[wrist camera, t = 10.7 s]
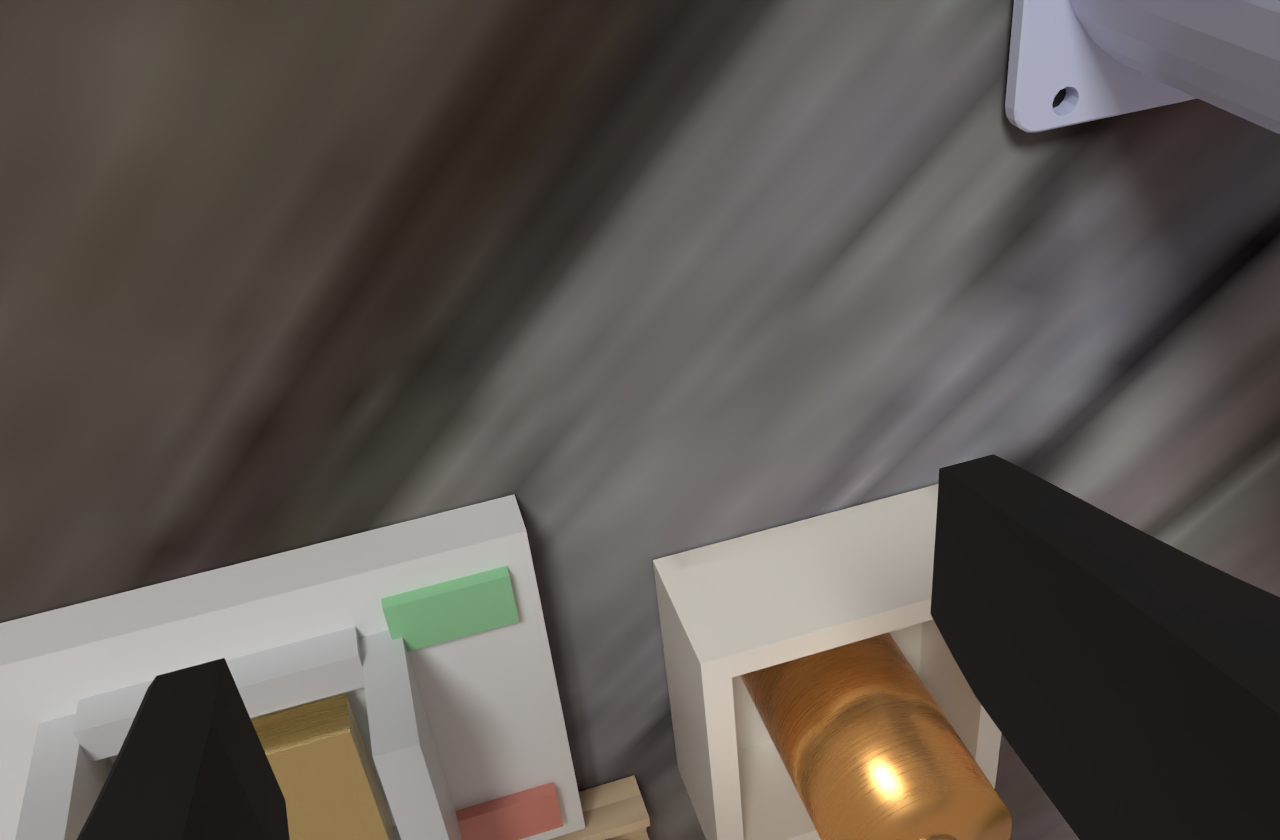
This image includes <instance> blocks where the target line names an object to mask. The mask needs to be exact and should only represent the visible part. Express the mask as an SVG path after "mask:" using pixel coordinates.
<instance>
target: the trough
mask: <svg viewBox="0 0 1280 840" xmlns="http://www.w3.org/2000/svg"><path fill="white" fill-rule="evenodd" d="M578 793H579V798H580V803H581V808H582V813H583V818H584V823H585V828H584V829H581V830H578V831H575V832H571V833H568V834H565V835H562V836H558V837H555V838H552V839H549V840H649V837H648V834H647V831H646V827H649V826H650V820H649V816H648V813H647V810H646V807H645V804H644V802H643V799H642V796H641V793H640V790H639V787H638V785H637V782H636V779H635V776H634V775H633V776H630V777H627V778H623V779H620V780H617V781H613V782H610V783H607V784H603V785H600V786H597V787H593V788H590V789H587V790H583V791H580V792H578Z"/></svg>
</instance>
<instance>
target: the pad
mask: <svg viewBox="0 0 1280 840" xmlns="http://www.w3.org/2000/svg"><path fill="white" fill-rule="evenodd" d="M251 721H252V723H253V726H254V728H255V730H256V733H257V735H258V737H259V740H260V742H261V744H262V747H263V749H264V751H265V754H266V756H267V758H268V761H269V763H270V765H271V768H272V770H273V772H274V775H275V777H276V779H277V782H278V784H279V787H280V789H281V791H282V794H283V796H284V798H285V802H286V811H287V820H288V829H289V838H290V840H394V835H393V827H392V822H391V819H390V816H389V813H388V810H387V807H386V804H385V802H384V799H383V796H382V793H381V790H380V787H379V785H378V782H377V779H376V776H375V773H374V770H373V767H372V765H371V762H370V759H369V756H368V753H367V750H366V747H365V745H364V742H363V739H362V736H361V733H360V730H359V728H358V725H357V722H356V719H355V716H354V713H353V710H352V708H351V705H350V702H349V699H348V696H347V693H345V694H341V695H337V696H334V697H330V698H326V699H323V700H319V701H316V702H312V703H308V704H305V705H301V706H297V707H294V708H290V709H286V710H283V711H279V712H276V713H272V714H268V715H265V716H261V717H257V718H254V719H251Z"/></svg>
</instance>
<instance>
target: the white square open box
mask: <svg viewBox="0 0 1280 840" xmlns="http://www.w3.org/2000/svg"><path fill="white" fill-rule="evenodd" d="M938 485H939V484H936V485H932V486H929V487H925V488H921V489H918V490H914V491H910V492H906V493H903V494H899V495H895V496H891V497H888V498H884V499H880V500H876V501H873V502H869V503H865V504H861V505H858V506H854V507H850V508H846V509H843V510H839V511H835V512H831V513H828V514H824V515H820V516H816V517H813V518H809V519H805V520H801V521H798V522H794V523H790V524H786V525H783V526H779V527H775V528H771V529H768V530H764V531H760V532H756V533H753V534H749V535H745V536H742V537H738V538H734V539H730V540H727V541H723V542H719V543H715V544H712V545H708V546H704V547H700V548H697V549H693V550H689V551H685V552H682V553H678V554H674V555H670V556H667V557H663V558H659V559H655V560H653V566H654V574H655V583H656V591H657V599H658V608H659V616H660V624H661V633H662V641H663V649H664V657H665V666H666V674H667V682H668V691H669V699H670V707H671V716H672V724H673V732H674V741H675V749H676V757H677V766H678V770H679V772H680V775H681V777H682V780H683V782H684V785H685V787H686V790H687V792H688V795H689V797H690V800H691V802H692V805H693V808H694V810H695V813H696V815H697V818H698V820H699V823H700V825H701V828H702V830H703V833H704V835H705V838H706V840H821V839H820V837H819V835H818V833H817V831H816V829H815V827H814V825H813V822H812V820H811V818H810V816H809V814H808V812H807V810H806V808H805V806H804V804H803V802H802V800H801V798H800V796H799V794H798V792H797V790H796V788H795V786H794V784H793V782H792V780H791V778H790V776H789V774H788V772H787V770H786V768H785V766H784V764H783V762H782V760H781V758H780V756H779V754H778V752H777V749H776V747H775V745H774V743H773V741H772V739H771V737H770V735H769V733H768V731H767V729H766V727H765V725H764V723H763V721H762V719H761V717H760V715H759V713H758V711H757V709H756V707H755V705H754V703H753V701H752V699H751V697H750V695H749V693H748V691H747V689H746V687H745V685H744V683H743V681H742V679H741V677H740V675H743V674H746V673H750V672H753V671H757V670H760V669H763V668H767V667H770V666H774V665H777V664H781V663H784V662H788V661H791V660H795V659H798V658H801V657H805V656H808V655H812V654H815V653H819V652H822V651H826V650H829V649H832V648H836V647H839V646H843V645H846V644H850V643H853V642H857V641H860V640H864V639H867V638H870V637H874V636H877V635H881V634H884V633H888V632H889V633H890V634H891V636H892V637H893V639H894V640H895V642H896V643H897V645H898V646H899V648H900V649H901V651H902V652H903V654H904V655H905V657H906V658H907V660H908V661H909V663H910V664H911V666H912V667H913V669H914V670H915V672H916V673H917V675H918V676H919V678H920V679H921V681H922V682H923V684H924V685H925V687H926V688H927V690H928V691H929V693H930V694H931V695H932V697H933V698H934V700H935V701H936V703H937V704H938V706H939V707H940V709H941V710H942V712H943V713H944V715H945V716H946V718H947V719H948V721H949V722H950V724H951V725H952V727H953V728H954V730H955V731H956V733H957V734H958V736H959V737H960V739H961V740H962V742H963V743H964V745H965V746H966V748H967V749H968V751H969V752H970V754H971V755H972V756H973V758H974V759H975V761H976V762H977V764H978V765H979V767H980V768H981V770H982V771H983V773H984V774H985V776H986V777H987V779H988V780H989V782H990V783H991V785H992V786H993V788H994V789H995V783H996V775H997V767H998V758H999V750H1000V742H1001V734H1002V733H1001V731H1000V730H999V729H998V727H997V726H996V725H995V723H994V722H993V720H992V719H991V718H990V716H989V715H988V713H987V712H986V711H985V709H984V708H983V706H982V705H981V704H980V702H979V701H978V699H977V698H976V696H975V695H974V693H973V691H972V689H971V688H970V686H969V684H968V682H967V681H966V679H965V677H964V675H963V674H962V672H961V670H960V668H959V667H958V665H957V663H956V661H955V660H954V658H953V656H952V654H951V652H950V650H949V648H948V646H947V644H946V643H945V641H944V639H943V637H942V635H941V633H940V631H939V629H938V627H937V626H936V624H935V622H934V620H933V618H932V616H931V614H930V611H931V596H932V580H933V564H934V548H935V533H936V517H937V501H938Z"/></svg>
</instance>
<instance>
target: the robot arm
mask: <svg viewBox="0 0 1280 840" xmlns="http://www.w3.org/2000/svg"><path fill="white" fill-rule="evenodd" d="M1065 87H1066V94H1065V97H1064V100H1063V101H1062V102H1061V103H1060V105H1059V106H1057V107H1055V108H1053V106H1052V103H1053V100H1054V97H1055V96H1056V94H1057V93H1058V92H1059V91H1060V90H1061V89H1063V88H1065ZM1193 99H1200V100H1202V101H1205V102H1207V103H1209V104H1211V105H1214V106H1216V107H1218V108H1221V109H1223V110H1225V111H1227V112H1230V113H1232V114H1234V115H1236V116H1239V117H1241V118H1243V119H1245V120H1248V121H1250V122H1252V123H1255V124H1257V125H1259V126H1261V127H1264V128H1266V129H1268V130H1270V131H1273V132H1275V133H1277V134H1280V0H1014V6H1013V18H1012V30H1011V42H1010V54H1009V65H1008V77H1007V89H1006V101H1005V110H1006V116H1007V118H1008V120H1009V121H1010V123H1011V124H1013V125H1014V126H1016V127H1018V128H1020V129H1021V130H1023V131H1025V132H1027V133H1037V132H1042V131H1046V130H1051V129H1056V128H1060V127H1065V126H1070V125H1075V124H1079V123H1084V122H1089V121H1094V120H1098V119H1103V118H1108V117H1113V116H1117V115H1122V114H1127V113H1131V112H1136V111H1141V110H1146V109H1150V108H1155V107H1160V106H1165V105H1169V104H1174V103H1179V102H1183V101H1188V100H1193ZM930 614H931V616H932V618H933V620H934V622H935V624H936V626H937V627H938V629H939V631H940V633H941V635H942V637H943V639H944V641H945V643H946V644H947V646H948V648H949V650H950V652H951V654H952V656H953V658H954V660H955V661H956V663H957V665H958V667H959V668H960V670H961V672H962V674H963V675H964V677H965V679H966V681H967V682H968V684H969V686H970V688H971V689H972V691H973V693H974V695H975V696H976V698H977V699H978V701H979V702H980V704H981V705H982V706H983V708H984V709H985V711H986V712H987V713H988V715H989V716H990V718H991V719H992V720H993V722H994V723H995V725H996V726H997V727H998V729H999V730H1000V731H1001V733H1002V734H1003V736H1004V737H1005V738H1006V740H1007V741H1008V742H1009V744H1010V745H1011V747H1012V748H1013V749H1014V751H1015V752H1016V754H1017V755H1018V756H1019V758H1020V759H1021V760H1022V762H1023V763H1024V764H1025V766H1026V767H1027V769H1028V770H1029V771H1030V773H1031V774H1032V775H1033V777H1034V778H1035V779H1036V781H1037V782H1038V783H1039V785H1040V786H1041V788H1042V789H1043V790H1044V792H1045V793H1046V794H1047V796H1048V797H1049V798H1050V800H1051V801H1052V802H1053V804H1054V805H1055V806H1056V808H1057V809H1058V811H1059V812H1060V813H1061V815H1062V816H1063V817H1064V819H1065V820H1066V821H1067V823H1068V824H1069V825H1070V827H1071V828H1072V830H1073V831H1074V832H1075V834H1076V835H1077V836H1078V838H1079V839H1080V840H1280V597H1277V596H1275V595H1273V594H1271V593H1269V592H1266V591H1264V590H1262V589H1260V588H1257V587H1255V586H1253V585H1251V584H1248V583H1246V582H1244V581H1242V580H1240V579H1237V578H1235V577H1233V576H1231V575H1229V574H1227V573H1225V572H1223V571H1221V570H1219V569H1216V568H1214V567H1212V566H1210V565H1208V564H1206V563H1204V562H1202V561H1200V560H1198V559H1196V558H1194V557H1192V556H1190V555H1188V554H1186V553H1184V552H1182V551H1180V550H1178V549H1176V548H1174V547H1172V546H1170V545H1168V544H1166V543H1164V542H1162V541H1160V540H1158V539H1156V538H1154V537H1152V536H1150V535H1148V534H1146V533H1144V532H1142V531H1140V530H1138V529H1136V528H1135V527H1133V526H1131V525H1129V524H1127V523H1125V522H1123V521H1121V520H1119V519H1117V518H1115V517H1113V516H1112V515H1110V514H1108V513H1106V512H1104V511H1102V510H1100V509H1098V508H1096V507H1094V506H1093V505H1091V504H1089V503H1087V502H1085V501H1083V500H1081V499H1079V498H1077V497H1076V496H1074V495H1072V494H1070V493H1068V492H1066V491H1064V490H1062V489H1060V488H1059V487H1057V486H1055V485H1053V484H1051V483H1049V482H1047V481H1045V480H1043V479H1042V478H1040V477H1038V476H1036V475H1034V474H1032V473H1030V472H1028V471H1026V470H1024V469H1022V468H1020V467H1018V466H1016V465H1014V464H1012V463H1010V462H1008V461H1006V460H1004V459H1002V458H1000V457H998V456H995V455H989V456H986V457H982V458H978V459H974V460H971V461H967V462H963V463H959V464H955V465H952V466H948V467H944V468H940V470H939V485H938V501H937V517H936V533H935V548H934V564H933V580H932V596H931V611H930ZM77 840H290V838H289V829H288V820H287V811H286V802H285V798H284V796H283V794H282V791H281V789H280V787H279V784H278V782H277V779H276V777H275V775H274V772H273V770H272V768H271V765H270V763H269V761H268V758H267V756H266V754H265V751H264V749H263V747H262V744H261V742H260V740H259V737H258V735H257V733H256V730H255V728H254V726H253V723H252V721H251V719H250V716H249V714H248V712H247V709H246V707H245V705H244V702H243V700H242V698H241V695H240V693H239V691H238V688H237V686H236V684H235V681H234V679H233V677H232V674H231V672H230V670H229V667H228V665H227V663H226V660H225V658H222V659H218V660H215V661H211V662H207V663H203V664H199V665H196V666H192V667H188V668H184V669H180V670H177V671H173V672H169V673H165V674H162V675H158V676H156V677H155V679H154V680H153V681H152V683H151V684H150V686H149V687H148V689H147V691H146V693H145V695H144V698H143V700H142V702H141V704H140V707H139V709H138V711H137V713H136V716H135V718H134V720H133V722H132V725H131V727H130V729H129V731H128V734H127V736H126V738H125V740H124V742H123V745H122V747H121V749H120V751H119V753H118V756H117V758H116V760H115V762H114V764H113V766H112V768H111V771H110V773H109V775H108V777H107V779H106V781H105V783H104V785H103V787H102V789H101V792H100V794H99V796H98V798H97V800H96V802H95V804H94V806H93V808H92V810H91V812H90V814H89V816H88V818H87V820H86V822H85V824H84V826H83V828H82V830H81V832H80V834H79V836H78V838H77Z"/></svg>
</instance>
